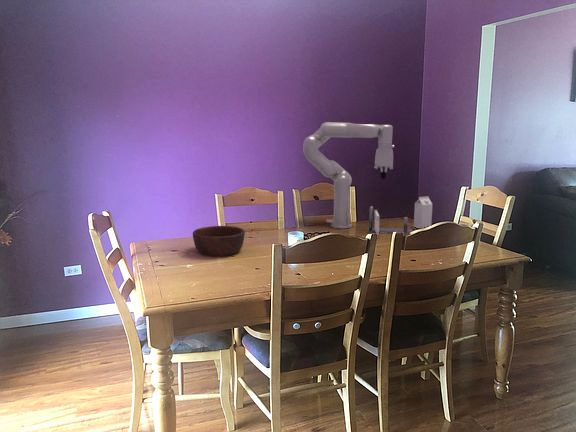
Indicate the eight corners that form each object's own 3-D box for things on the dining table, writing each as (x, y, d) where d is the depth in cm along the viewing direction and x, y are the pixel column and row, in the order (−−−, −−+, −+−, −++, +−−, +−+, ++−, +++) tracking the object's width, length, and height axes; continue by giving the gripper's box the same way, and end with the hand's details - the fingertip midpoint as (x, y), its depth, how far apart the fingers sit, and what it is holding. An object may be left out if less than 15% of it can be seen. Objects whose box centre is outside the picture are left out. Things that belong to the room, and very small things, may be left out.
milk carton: (413, 228, 297) (415, 196, 293) (423, 226, 300) (424, 195, 296) (421, 230, 291) (423, 198, 287) (431, 229, 294) (433, 197, 290)
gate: (373, 227, 290) (373, 209, 288) (376, 227, 289) (377, 209, 287) (375, 234, 271) (376, 215, 269) (379, 235, 271) (380, 216, 269)
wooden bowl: (236, 260, 231) (235, 238, 229) (185, 257, 236) (184, 235, 234) (251, 246, 255) (250, 226, 253) (204, 244, 260) (203, 224, 258)
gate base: (367, 232, 285) (368, 207, 283) (368, 229, 294) (369, 205, 291) (412, 234, 281) (414, 209, 278) (412, 231, 289) (413, 206, 286)
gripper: (397, 146, 289) (395, 178, 293) (371, 146, 291) (369, 177, 294) (399, 147, 282) (396, 180, 286) (372, 146, 283) (370, 179, 287)
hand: (383, 178), depth 290 cm, fingers closed
